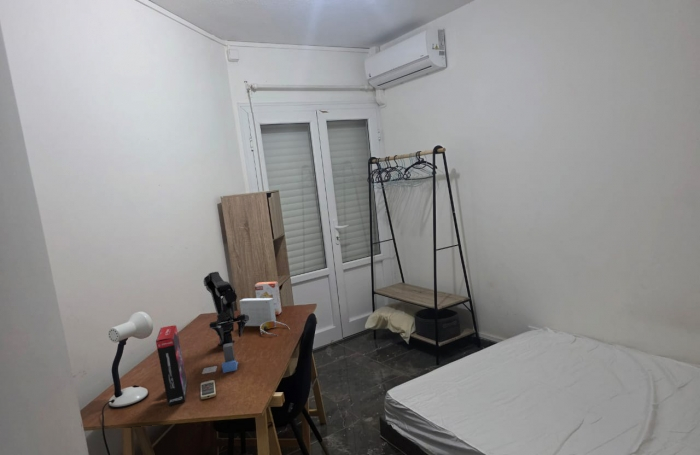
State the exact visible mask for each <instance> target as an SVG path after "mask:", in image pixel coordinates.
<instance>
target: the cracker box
mask: <svg viewBox="0 0 700 455" xmlns="http://www.w3.org/2000/svg"><path fill="white" fill-rule="evenodd" d="M279 289H280V288H279V282H278V281H263V282H262V281H261V282H257V283H255V284H254V290H255V298H273V301H274V309H275V316H277V315H280V314H281V313H282V304H281V296H280V295H281V294H280V290H279Z"/></svg>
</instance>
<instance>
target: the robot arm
mask: <svg viewBox="0 0 700 455" xmlns="http://www.w3.org/2000/svg"><path fill="white" fill-rule="evenodd" d="M203 284H204V287H205V289H206V291H208V293H210V295H211V298H212V302H213V305H214V309H215V312H216V321H212V322H209V326H208V327H209V330H213V331H214V332H215V334H216V335H217V336H218V337H219V343H217V345H218V346H223V345H224V344H228V343H234V342H236V341H235V339H233V334H232V332H234V331H235V330H234V325H235V324H234V323H236V324H237V328H238V329H237V330H238V337H239V338H241V337H242V334H243V332H244V328H245V327H246V326H245V324H246V323H247V322H246V321H249V316H248V315H245V314H242V315H241V314H239V315H237V316H235V315H236V314H235V312H236V309H235V306H234V304H235V302H236V301H237V298H238V294H236V289H235V288H234V287H233V286H232V284H230V282H229V281H226V280H224V279H223V278H222V277H221V275H220V273H219V271H212V272H209V273H208V274H207V275H206V276H205V277H204V279H203Z"/></svg>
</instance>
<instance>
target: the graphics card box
mask: <svg viewBox="0 0 700 455" xmlns="http://www.w3.org/2000/svg"><path fill="white" fill-rule="evenodd" d="M155 343H156V344H155V345H156V348H157V354H158V361H159V364H160V371H161V376H162V380H163V384H164V389H165V395H166V401H167V405H168V406H169V407H170V406H173V405H178V404H181V403H184V402H186V396H187V387H188V386H187V384H188V380H187V375H186V370H185V364H184V359H183V353H182V348H181V343H180V338H179V332H178V327H177V325H176V324H175V325H174V324H173V325H168V326H163V327H160V329H159V332H158V335H157V338H156V340H155Z"/></svg>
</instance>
